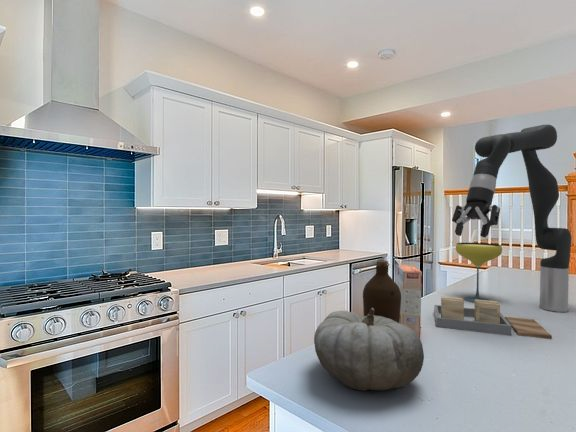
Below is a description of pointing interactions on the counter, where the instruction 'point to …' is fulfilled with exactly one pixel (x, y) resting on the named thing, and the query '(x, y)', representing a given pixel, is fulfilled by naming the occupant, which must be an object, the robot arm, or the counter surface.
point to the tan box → (487, 311)
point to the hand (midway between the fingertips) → (470, 235)
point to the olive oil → (382, 294)
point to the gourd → (368, 350)
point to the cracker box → (410, 296)
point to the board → (528, 327)
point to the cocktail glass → (478, 258)
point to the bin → (472, 323)
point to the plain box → (452, 308)
